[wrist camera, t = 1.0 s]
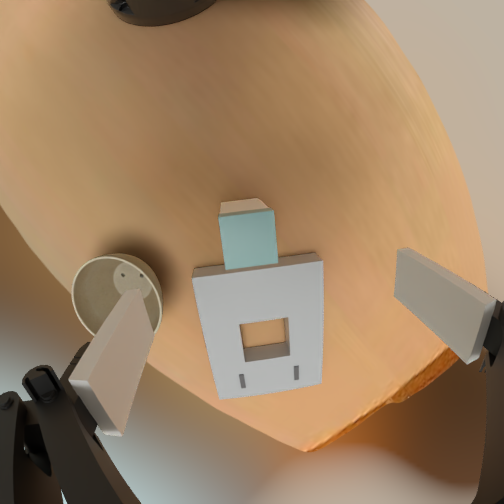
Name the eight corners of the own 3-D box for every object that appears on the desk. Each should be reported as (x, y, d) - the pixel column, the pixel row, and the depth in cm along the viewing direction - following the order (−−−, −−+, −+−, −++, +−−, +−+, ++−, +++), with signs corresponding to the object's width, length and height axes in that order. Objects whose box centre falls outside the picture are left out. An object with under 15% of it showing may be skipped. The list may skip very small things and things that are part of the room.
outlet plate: (194, 268, 32) (191, 278, 29) (314, 252, 33) (323, 261, 30) (219, 385, 37) (219, 400, 34) (315, 370, 38) (321, 384, 35)
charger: (220, 201, 30) (218, 217, 21) (258, 197, 30) (273, 210, 21) (225, 238, 31) (225, 270, 22) (262, 234, 32) (278, 263, 22)
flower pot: (191, 284, 33) (183, 314, 26) (136, 329, 34) (121, 362, 27) (133, 220, 30) (109, 234, 23) (83, 273, 31) (56, 296, 24)
